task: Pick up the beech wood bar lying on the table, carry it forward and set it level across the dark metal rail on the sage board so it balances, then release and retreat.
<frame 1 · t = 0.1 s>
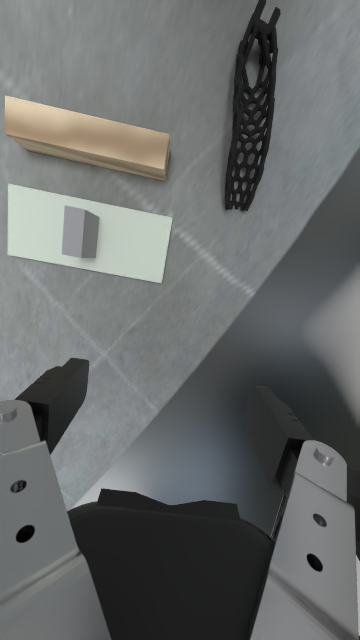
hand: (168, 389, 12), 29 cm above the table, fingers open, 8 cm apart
plank: (99, 151, 34), on the table
fulcrum: (91, 236, 37), on the table
decorative element: (243, 128, 34), on the table
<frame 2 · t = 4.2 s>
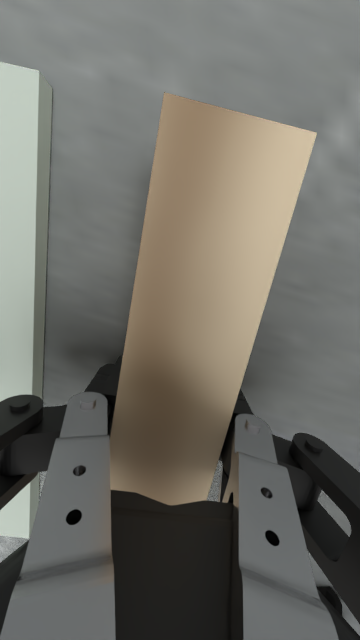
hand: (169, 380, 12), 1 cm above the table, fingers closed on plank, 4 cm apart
plank: (169, 373, 13), on the table, touching gripper
when the fingers open (9 cm above the table, at t = 9.2 s): plank stays where it is, resting on fulcrum.
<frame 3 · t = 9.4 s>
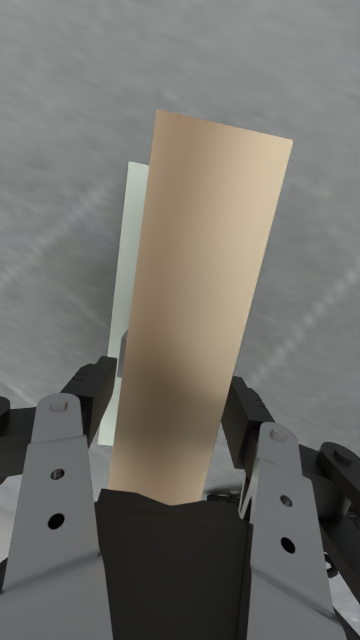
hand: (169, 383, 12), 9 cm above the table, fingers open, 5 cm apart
plank: (170, 365, 14), point 7 cm above the table, touching fulcrum
fulcrum: (171, 330, 21), on the table
decorative element: (301, 499, 27), on the table
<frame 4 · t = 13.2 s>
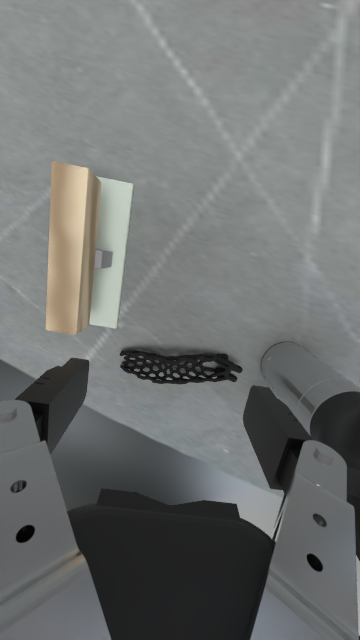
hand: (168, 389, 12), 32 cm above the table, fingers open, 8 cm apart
plank: (80, 255, 34), point 7 cm above the table, touching fulcrum
fulcrum: (96, 256, 41), on the table
decorative element: (180, 359, 46), on the table
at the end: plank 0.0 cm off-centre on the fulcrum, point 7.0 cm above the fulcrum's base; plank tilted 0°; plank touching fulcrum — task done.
